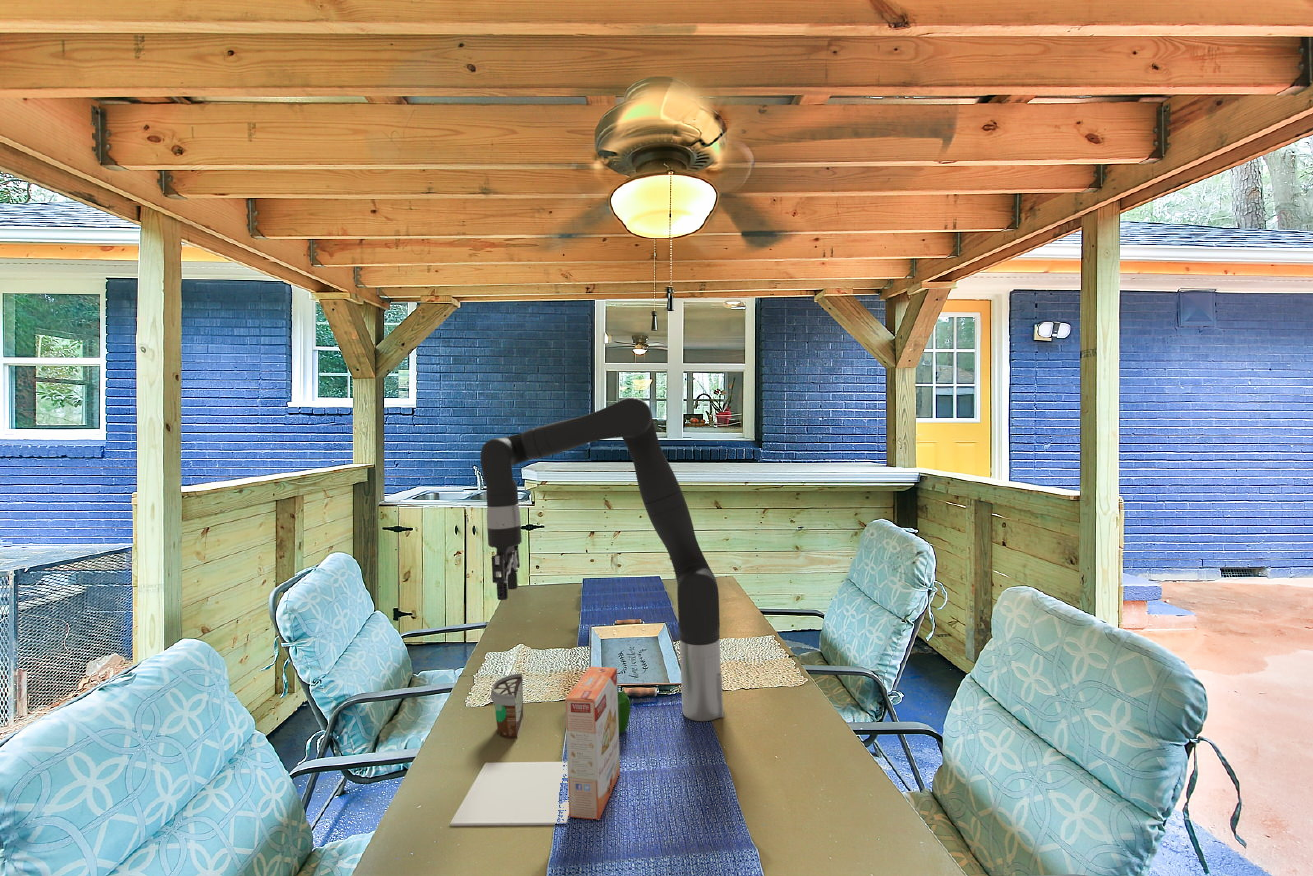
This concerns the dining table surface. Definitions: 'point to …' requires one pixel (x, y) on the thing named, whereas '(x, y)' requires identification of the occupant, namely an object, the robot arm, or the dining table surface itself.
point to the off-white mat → (514, 795)
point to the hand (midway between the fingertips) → (508, 594)
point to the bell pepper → (623, 711)
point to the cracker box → (592, 742)
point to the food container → (508, 705)
